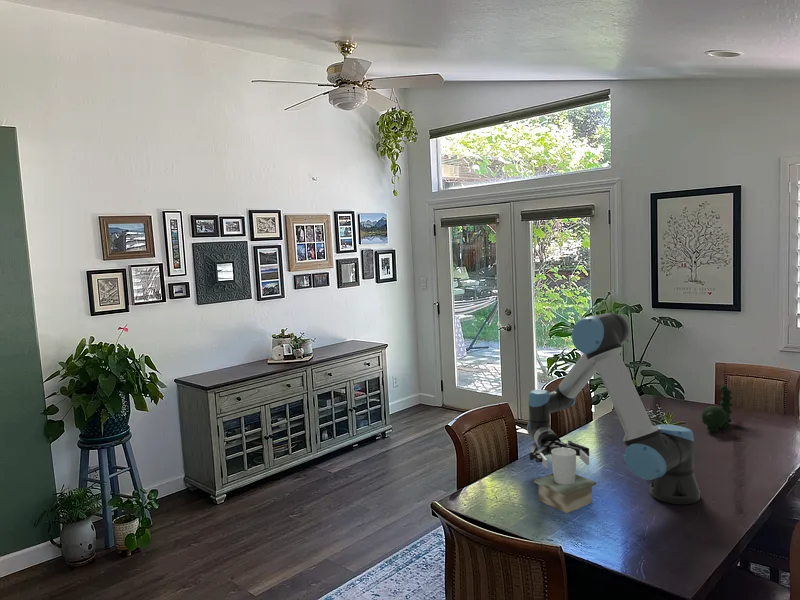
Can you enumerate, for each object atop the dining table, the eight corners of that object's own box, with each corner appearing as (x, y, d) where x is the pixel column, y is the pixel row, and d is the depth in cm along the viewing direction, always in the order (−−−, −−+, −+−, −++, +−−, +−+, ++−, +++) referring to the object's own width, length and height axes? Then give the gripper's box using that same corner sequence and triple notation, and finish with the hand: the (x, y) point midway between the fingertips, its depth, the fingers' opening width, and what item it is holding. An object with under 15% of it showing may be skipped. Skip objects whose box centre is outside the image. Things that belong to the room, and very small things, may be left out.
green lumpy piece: (715, 423, 268) (695, 432, 251) (716, 382, 268) (696, 388, 250) (738, 427, 262) (719, 437, 244) (739, 385, 261) (720, 391, 244)
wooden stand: (596, 502, 192) (596, 482, 191) (567, 515, 184) (566, 493, 183) (563, 489, 203) (563, 469, 203) (534, 500, 196) (533, 480, 195)
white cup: (582, 483, 191) (581, 453, 190) (561, 487, 188) (560, 457, 187) (567, 474, 198) (566, 445, 197) (547, 478, 196) (546, 449, 195)
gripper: (582, 448, 211) (605, 470, 190) (513, 453, 210) (529, 476, 189) (581, 428, 211) (604, 448, 189) (512, 433, 210) (528, 453, 188)
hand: (567, 462), depth 189 cm, fingers open, 13 cm apart
